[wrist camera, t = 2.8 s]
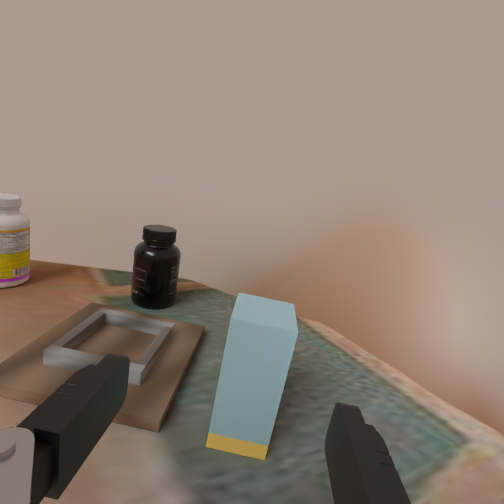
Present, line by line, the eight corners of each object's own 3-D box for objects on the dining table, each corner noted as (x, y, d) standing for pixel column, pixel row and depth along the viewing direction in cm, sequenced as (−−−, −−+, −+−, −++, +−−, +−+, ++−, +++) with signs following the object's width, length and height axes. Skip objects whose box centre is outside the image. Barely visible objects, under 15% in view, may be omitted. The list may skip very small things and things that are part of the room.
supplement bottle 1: (-28, 274, 44) (-33, 188, 40) (27, 271, 48) (27, 193, 45) (-31, 292, 39) (-36, 197, 36) (31, 287, 43) (32, 202, 40)
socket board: (-23, 391, 25) (-25, 364, 24) (91, 310, 40) (92, 292, 40) (158, 432, 24) (161, 406, 24) (203, 334, 40) (206, 317, 39)
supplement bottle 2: (160, 288, 51) (168, 222, 48) (183, 304, 47) (193, 233, 44) (122, 295, 46) (128, 222, 43) (143, 314, 42) (152, 234, 39)
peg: (205, 446, 24) (230, 318, 21) (217, 402, 29) (238, 292, 26) (264, 460, 24) (298, 332, 21) (266, 413, 29) (293, 304, 26)
